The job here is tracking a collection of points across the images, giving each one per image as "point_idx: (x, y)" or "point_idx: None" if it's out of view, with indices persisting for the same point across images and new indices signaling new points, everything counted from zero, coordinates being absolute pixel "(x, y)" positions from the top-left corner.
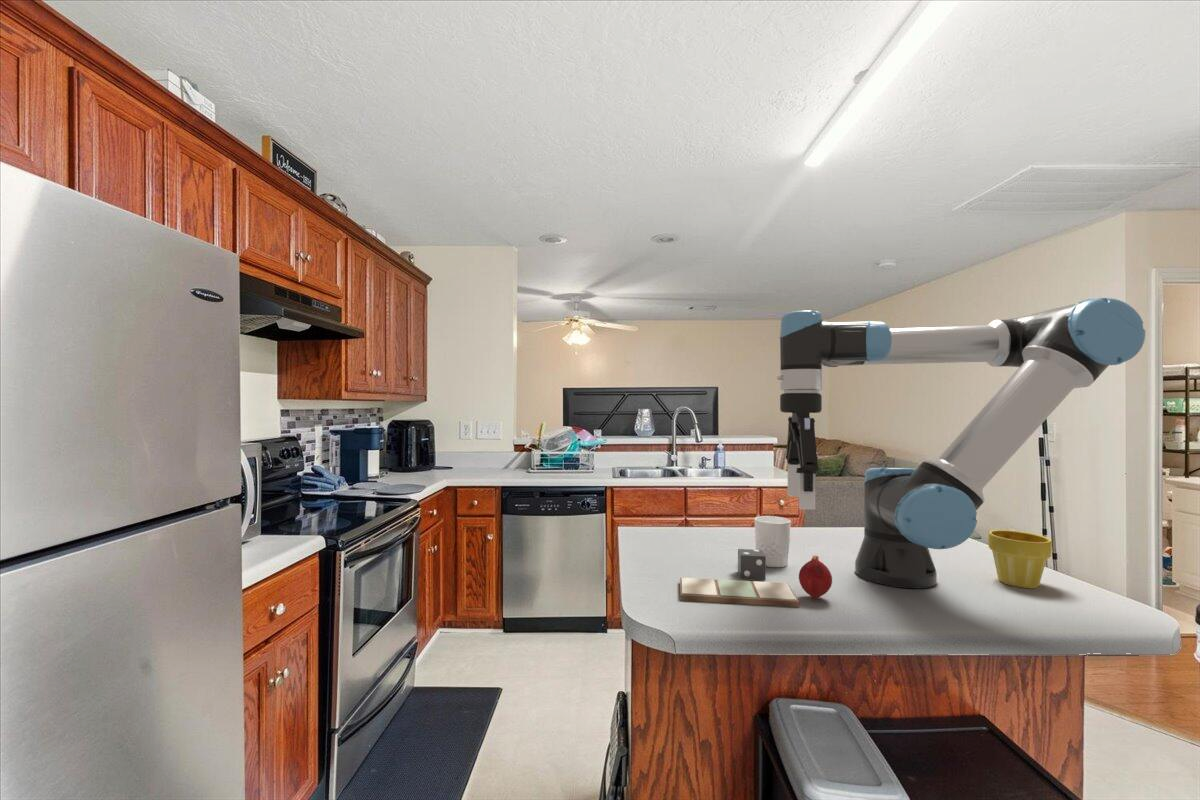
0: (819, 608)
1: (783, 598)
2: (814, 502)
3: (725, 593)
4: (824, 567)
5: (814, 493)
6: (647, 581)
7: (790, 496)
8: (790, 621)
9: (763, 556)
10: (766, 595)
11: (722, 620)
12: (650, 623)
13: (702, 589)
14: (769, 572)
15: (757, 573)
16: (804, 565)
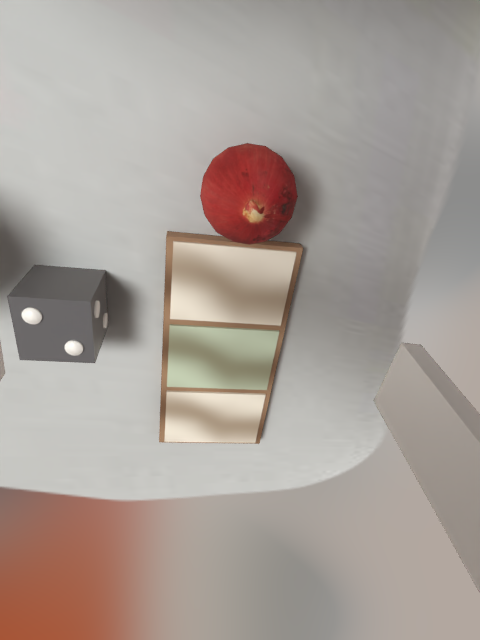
0: (309, 196)
1: (289, 280)
2: (438, 372)
3: (257, 381)
4: (279, 185)
5: (468, 408)
6: (160, 476)
7: (3, 362)
8: (371, 283)
9: (90, 306)
10: (268, 310)
11: (349, 387)
12: (347, 467)
13: (234, 414)
14: (24, 242)
15: (103, 297)
16: (246, 238)
